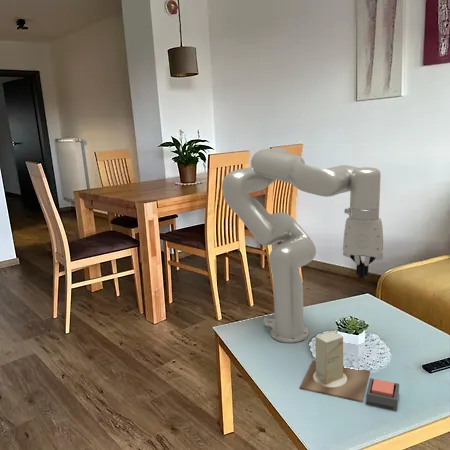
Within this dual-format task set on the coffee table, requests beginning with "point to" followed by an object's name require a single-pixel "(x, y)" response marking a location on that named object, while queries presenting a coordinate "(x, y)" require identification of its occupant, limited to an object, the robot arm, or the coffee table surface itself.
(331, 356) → the skincare box
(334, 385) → the board
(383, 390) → the button
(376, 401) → the button housing
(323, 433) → the coffee table surface
